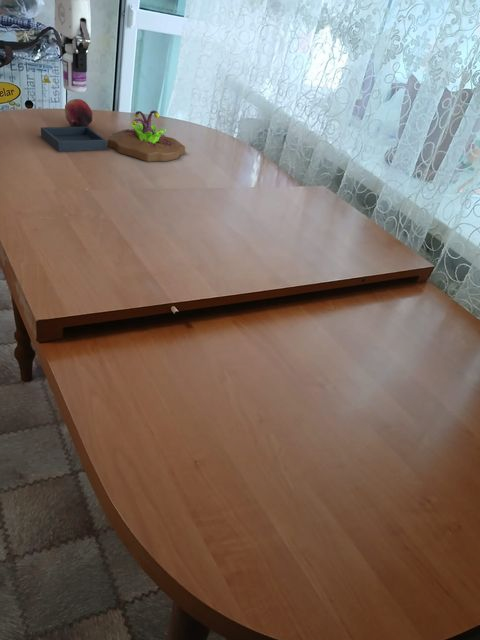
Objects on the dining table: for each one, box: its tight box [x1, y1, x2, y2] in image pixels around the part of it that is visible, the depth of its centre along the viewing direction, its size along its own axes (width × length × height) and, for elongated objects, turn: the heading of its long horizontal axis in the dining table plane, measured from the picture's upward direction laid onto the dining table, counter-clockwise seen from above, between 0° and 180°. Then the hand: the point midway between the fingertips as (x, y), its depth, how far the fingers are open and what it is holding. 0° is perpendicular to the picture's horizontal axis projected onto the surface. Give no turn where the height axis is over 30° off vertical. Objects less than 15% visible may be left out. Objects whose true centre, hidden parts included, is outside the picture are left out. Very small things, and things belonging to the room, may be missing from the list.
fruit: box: [64, 98, 93, 127], centre depth 159 cm, size 8×8×8 cm
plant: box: [107, 110, 186, 162], centre depth 155 cm, size 20×20×11 cm
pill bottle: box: [62, 44, 87, 93], centre depth 131 cm, size 5×5×10 cm
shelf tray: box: [40, 126, 108, 153], centre depth 150 cm, size 14×12×3 cm
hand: (74, 67), depth 131 cm, fingers closed on pill bottle, 5 cm apart
